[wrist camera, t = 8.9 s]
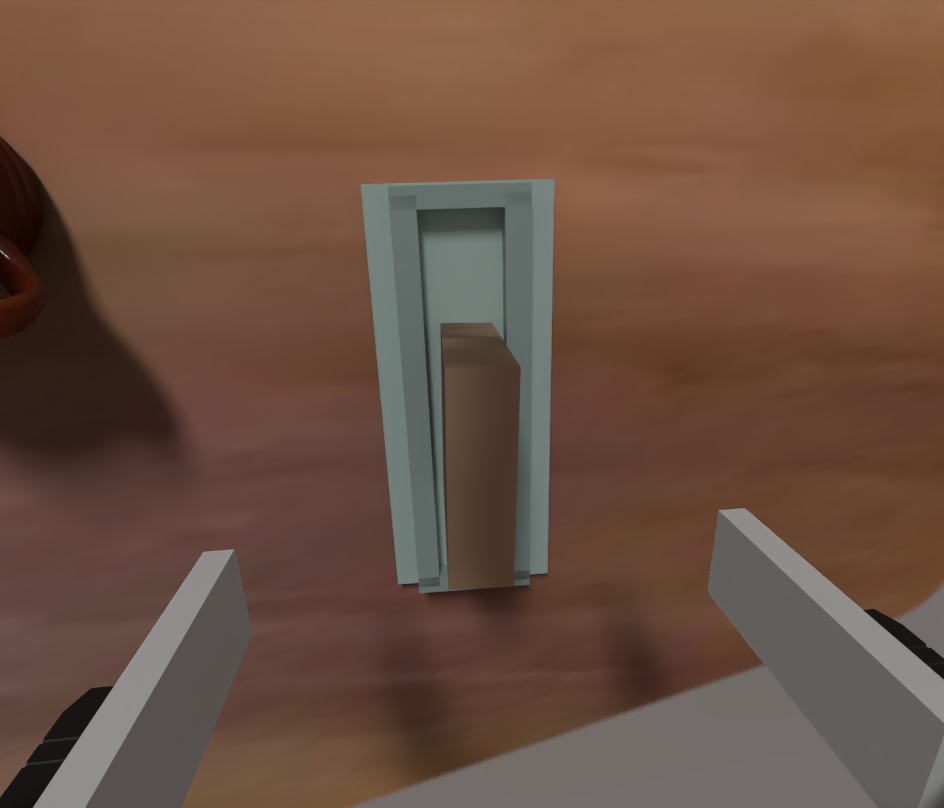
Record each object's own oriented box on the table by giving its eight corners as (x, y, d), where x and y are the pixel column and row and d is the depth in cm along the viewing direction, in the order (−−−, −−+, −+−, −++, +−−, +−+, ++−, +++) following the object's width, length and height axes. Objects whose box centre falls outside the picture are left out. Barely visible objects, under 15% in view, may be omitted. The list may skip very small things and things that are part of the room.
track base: (398, 575, 32) (397, 597, 30) (362, 185, 24) (357, 182, 23) (544, 565, 32) (551, 586, 30) (550, 180, 25) (560, 176, 23)
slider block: (443, 483, 29) (448, 589, 20) (440, 323, 26) (444, 368, 17) (489, 482, 29) (513, 586, 21) (491, 322, 26) (520, 367, 18)
